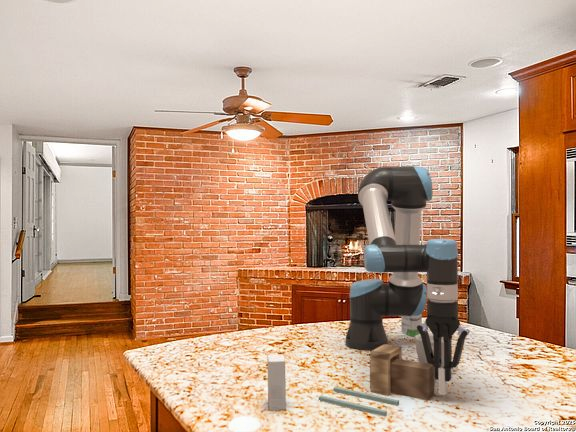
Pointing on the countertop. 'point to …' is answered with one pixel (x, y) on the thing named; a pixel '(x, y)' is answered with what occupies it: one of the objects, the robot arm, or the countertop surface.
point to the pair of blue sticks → (358, 406)
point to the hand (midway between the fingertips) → (443, 392)
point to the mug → (422, 353)
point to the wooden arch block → (382, 367)
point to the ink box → (410, 324)
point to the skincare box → (276, 382)
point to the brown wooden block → (412, 379)
